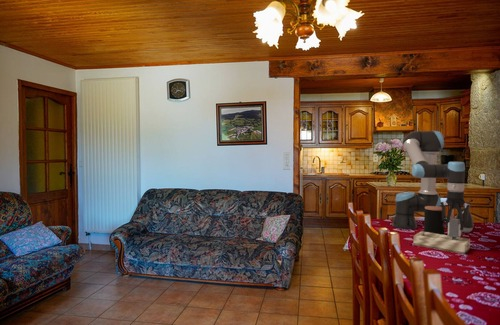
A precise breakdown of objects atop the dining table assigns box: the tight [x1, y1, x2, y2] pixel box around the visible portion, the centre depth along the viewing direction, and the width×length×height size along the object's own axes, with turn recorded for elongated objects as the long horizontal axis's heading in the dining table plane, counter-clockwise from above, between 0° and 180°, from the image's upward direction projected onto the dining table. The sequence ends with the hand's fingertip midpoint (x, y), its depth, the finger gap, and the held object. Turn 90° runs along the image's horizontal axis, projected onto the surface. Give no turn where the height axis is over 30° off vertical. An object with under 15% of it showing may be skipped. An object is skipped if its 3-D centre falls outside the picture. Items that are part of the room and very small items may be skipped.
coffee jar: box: [423, 206, 446, 235], centre depth 197 cm, size 11×11×18 cm
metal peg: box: [448, 217, 460, 240], centre depth 174 cm, size 5×5×14 cm
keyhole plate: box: [412, 230, 471, 255], centre depth 178 cm, size 24×14×5 cm, turn 47°
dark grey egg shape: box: [455, 207, 474, 233], centre depth 211 cm, size 10×10×15 cm
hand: (454, 234), depth 174 cm, fingers closed on metal peg, 4 cm apart
